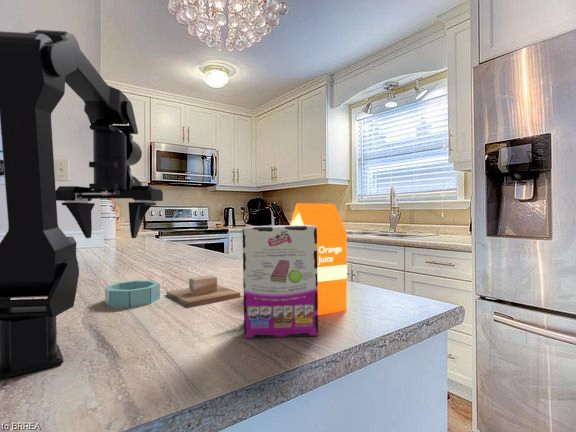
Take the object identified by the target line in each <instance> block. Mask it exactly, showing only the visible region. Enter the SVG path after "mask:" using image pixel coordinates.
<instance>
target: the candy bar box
mask: <svg viewBox="0 0 576 432" xmlns="http://www.w3.org/2000/svg"><path fill="white" fill-rule="evenodd" d="M242 270H243V271H242V274H243V278H242V281H243V284H242V286H243V288H242V289H243V337H244V339H263V338H265V339H267V338H271V339H272V338H292V337H293V338H295V337H311V336H312V337H315V336H319V315H318V268H317V226H314V225H290V224H289V225H288V224H287V225H284V224H283V225H251V226H250V225H249V226H248V225H247V226H244V227H243V228H242Z"/></svg>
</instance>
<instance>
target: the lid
mask: <svg viewBox="0 0 576 432" xmlns="http://www.w3.org/2000/svg"><path fill="white" fill-rule="evenodd" d="M188 280H189V285H188V287H187V288H181V289H174V290H168V291H166V295H167V296H169V297H171V298H173V299H175V300H177V301H179V302H181V303H183V304H185V305H187V306H188V307H191V306H196V305H201V304H206V303H211V302H216V301H221V300H226V299H231V298H236V297H240V296H241V292H240V291H236V290H234V289H231V288H227V287H224V286H221V285H219V284H218V276H215V275H212V274H211V275H205V276H198V277H190V278H188ZM236 299H237V298H236ZM231 300H232V299H231ZM226 301H227V300H226ZM221 302H222V301H221ZM216 303H217V302H216ZM211 304H212V303H211Z"/></svg>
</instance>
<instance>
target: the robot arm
mask: <svg viewBox="0 0 576 432" xmlns="http://www.w3.org/2000/svg"><path fill="white" fill-rule="evenodd" d="M66 85H67V86H68V87H69V88H70V89H72V91H73V92H74V93H76V95H77V96H78V97H79V98H80V99H81V100H82V101H83V103H84V107H83V108H84V110H83V112H84V113H85V114H86V116H87V118H88V121H89V123H90V125H89V129H90V130H91V131H92V136H93V137H92V142H93V144H92V146H93V148H92V149H93V151H92V153H93V156H92V157H93V161H88V168H92V169H93V183H89V184H88V186H89V187H87V186H86V187H85V186H78V185H72V186H71V185H65V186H64V185H62V186H61V185H59V186H58V187H57V188H56V174H55V161H54V160H55V159H54V158H55V157H54V144H53V127H52V126H53V125H52V113H53V111H54V110H55V109H56V107H57V106H58V104H59V103H60V102H61V100H62V98H63V97H64V95H65V93H66V92H65V91H66V90H65V89H66ZM138 134H139V131H138V126H137V122H136V117H135V111H134V108H133V104H132V102H131V100H129V98H128V97H127V96H126V95H125V93H124V92H122V91H121V90H120V89H118V88H115V87H113V86H110V85H109V84H108V83H106V81H105V80H104V79H103V78H102V76H101V75H100V73H99V71H97V70H96V68H95V66H93V64H92V63H91V62H90V60H89V59H88V58H87V57H86V55H85V54H84V52H83V51H82V49H81V48H80V45H79V41H78V39H77V38H76V36H75V35H74V34H72V33H69V32H67V31H65V30H64V31H63V30H48V29H36V30H34V31H29V32H19V31H18V32H17V31H0V135H1V148H2V161H3V162H2V163H3V174H4V175H3V176H4V186H5V198H6V199H5V200H6V211H7V225H8V229H7V231H6V233H5V235H4V236H3V238H2V239H1V240H0V380H3V379H7V378H10V377H11V378H12V377H16V376H19V375H22V374H26V373H30V372H35V371H39V370H42V369H47V368H50V367H55V366H59V365H61V364H63V363H64V357H63V354H62V352H61V349H60V346H59V344H57V316H58V315H60V314H62V313H64V312H66V311H68V310H70V309H72V308H74V306H75V302H76V301H75V300H76V297H77V296H76V294H77V288H78V285H79V284H78V283H79V277H80V268H79V267H80V266H79V262H78V258H77V257H78V256H77V241H76V240H75V237H74V236H67V235H66V234H65V233H64V232H63V230H62V229H61V228H60V227H59V223H58V206H57V201H58V202H61V206H65V207H66V208H67V209H68V211H69V212H70V213H71V215H72V217H73V218H74V220H75V221H76V223H77V225H78V226H79V228H80V230H81V232H82V234H83V235H84V238H86V239H91V238H92V230H93V228H92V227H93V225H92V221H93V220H92V212H93V211H92V210H93V209H94V207H95V204H96V203H95V202H91V201H92V200H94V199H95V200H96V199H99V200H100V199H103V200H105V199H110V200H111V199H114V200H115V199H116V200H117V199H119V200H121V199H123V200H124V199H125V200H126V199H131V200H133V201H134V202H133V201H132V202H131V201H128V202H127V204H128V215H129V217H128V218H129V230H130V231H129V232H130V237H131V239H136V238H137V237H138V233H139V231H140V229H141V226H142V223H143V221H144V218H145V216H146V214H147V212H148V211H149V209H150V208H151V207H154V206H156V205H157V202H164V201H163V200H164V198H163V197H164V193H163V190H162V189H161V188H160V187H159V186H152V185H142V182H141V181H140V180H139V179H138V178H136V176H134V175H132V169H131V166H134V165H137V164H138V162H139V161H141V160H142V159H141V158H142V156H143V151H142V149H141V146H140V144H139V143H137V142H136V141H134V140H133V139H134V137H133V135H138Z"/></svg>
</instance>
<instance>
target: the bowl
mask: <svg viewBox="0 0 576 432" xmlns="http://www.w3.org/2000/svg"><path fill="white" fill-rule="evenodd" d="M160 286H161V283H160V282H158V281H156V280H148V279H146V280H145V279H144V280H143V279H141V280H140V279H138V280H135V279H134V280H129V281H120V282H115V283H113V284H110V285H107V286H105V287H104V303H105V305H106V306H107V307H109V308H119V309H120V308H121V309H122V308H123V309H125V308H127V309H128V308H131V309H132V308H136V307H143V306H147V305H150V304H151V305H152V304H153V303H155V302H156V301H159V300H160V299H161V287H160Z"/></svg>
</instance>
